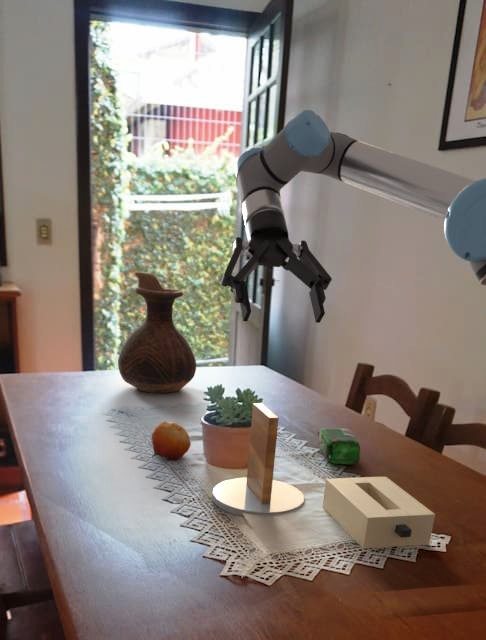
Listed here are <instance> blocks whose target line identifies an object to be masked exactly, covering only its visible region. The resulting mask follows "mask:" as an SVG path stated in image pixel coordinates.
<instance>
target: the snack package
mask: <svg viewBox="0 0 486 640" xmlns="http://www.w3.org/2000/svg"><path fill="white" fill-rule="evenodd" d="M317 435H318V441H319V442H318V443H319V446H320V449H321V451H322V453H323V456H324V458H325V459H326V460H327V462H329V463H330V464H333V465H346V466H347V465H349V466H351V465H355V464H356V463H358V462H359V461H360V457H361V456H360V455H361V446H360V443H359V441H358V440H357V438H356V436H355V435H354V433H353V432H352V431H351V430H350V429H349V428H348V429H347V428H340V427H323V428H321V429H320V430H319V431H317Z"/></svg>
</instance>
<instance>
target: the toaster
mask: <svg viewBox="0 0 486 640" xmlns="http://www.w3.org/2000/svg"><path fill="white" fill-rule="evenodd" d="M322 499H323V500H322V508H323V509H324V510H325V511H326V512H327V513H328V514H329V515H330V516H331V518H332V519H334V520H335V521H336V522H337V523H338V525H340V526H341V527H342V528H343V529H344V530H345V531H346V533H347V534H348V535H350V536H351V538H353V540H354V541H355V542H357V544H358V545H359V546H360V547H361V548H362V549H364V550H365V549H379V548H380V549H382V548H392V547H393V548H395V547H397V548H398V547H412V546H427V545H430V542H431V538H432V533H433V527H434V522H435V518H436V514H435V513H434V512H433V511H432V510H431V509H429V508H427V506H425V505H424V504H422V503H421V502H419V501H418V500H417V499H416V498H415V497H413V496H412V495H411V494H409V493H408V492H407V491H405V490H404V489H403V488H401V487H400V486H399V485H397V483H395V482H394V481H392V480H391V479H390V478H389V477H387V476H363V477H360V476H359V477H337V478H335V477H334V478H325V483H324V492H323V498H322Z"/></svg>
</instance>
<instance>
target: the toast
mask: <svg viewBox="0 0 486 640" xmlns="http://www.w3.org/2000/svg"><path fill="white" fill-rule="evenodd" d="M251 409H252V410H251V422H250V423H251V424H250V437H249V446H248V449H249V450H248V461H247V472H246V478H247V486H248V487H249V488H250V490H251V491H252V492H253V493H254V495H255V496H256V497H257V499H258V500H259V501H260V502H261V504H270V502H271V492H272V482H273V480H274V471H275V461H276V449H277V441H278V440H277V439H278V430H279V429H278V428H279V419H280V418H279V417H278V416H277V415H276V414H275V413H274V412H273V411H272V410H271V409H269V408H268V407H267V406H266V405H264V404H263V403H262V402H252V408H251Z"/></svg>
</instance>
